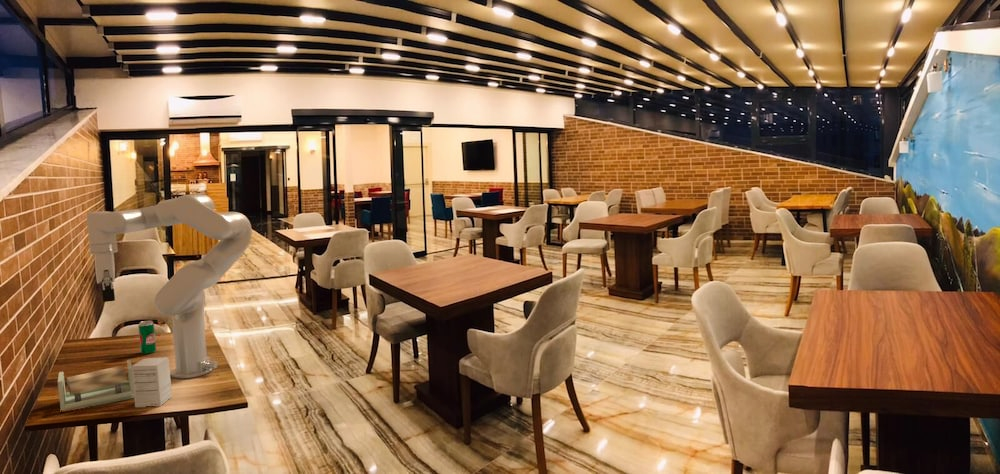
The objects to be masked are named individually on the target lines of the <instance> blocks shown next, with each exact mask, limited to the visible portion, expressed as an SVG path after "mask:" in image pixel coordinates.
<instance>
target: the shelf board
mask: <svg viewBox="0 0 1000 474" xmlns="http://www.w3.org/2000/svg"><path fill="white" fill-rule="evenodd" d="M127 376H128V374H127V369H126V368H125V367H124V366H123V365H119V366H114V367H108V368H105V369H100V370H95V371H90V372H87V373H82V374H77V375H72V376H68V377H66V383H67V384H66V385H67V392H69V393H70V394H71V395H73V394H77V393H81V392H86V391H90V390H94V389H98V388H103V387H107V386H111V385H115V384H119V383H124V382H127V381H128V378H127Z"/></svg>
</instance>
